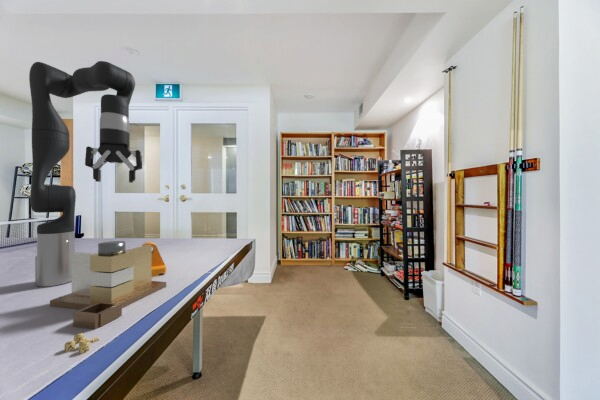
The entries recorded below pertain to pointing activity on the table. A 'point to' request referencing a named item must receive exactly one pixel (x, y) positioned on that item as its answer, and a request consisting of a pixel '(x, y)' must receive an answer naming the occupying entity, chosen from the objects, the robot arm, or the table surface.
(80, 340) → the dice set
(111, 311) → the hinge base
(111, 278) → the hinge leaf
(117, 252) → the hinge pin
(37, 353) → the table surface
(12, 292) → the table surface
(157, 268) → the bracket
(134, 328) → the table surface
